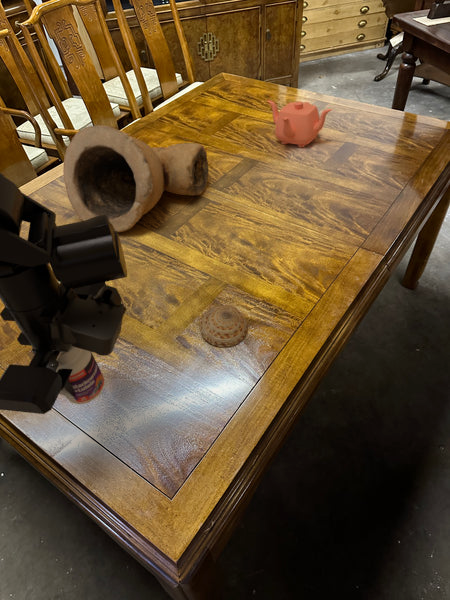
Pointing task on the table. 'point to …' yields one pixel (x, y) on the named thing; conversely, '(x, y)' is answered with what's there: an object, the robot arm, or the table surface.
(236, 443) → the table surface
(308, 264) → the table surface
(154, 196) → the pipe
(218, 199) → the table surface
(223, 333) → the seashell
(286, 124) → the teapot
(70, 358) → the pill bottle
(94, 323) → the robot arm
